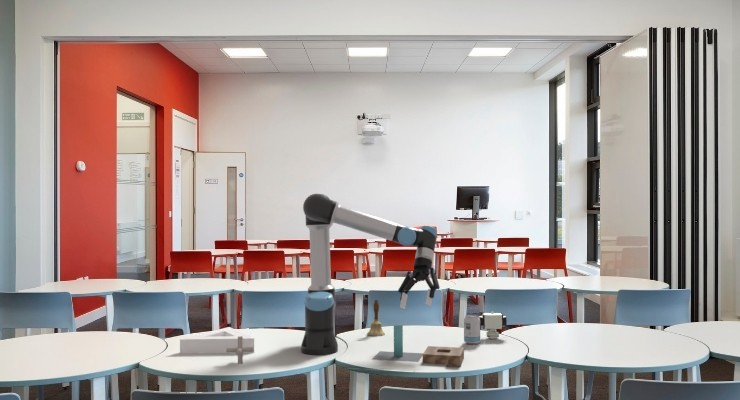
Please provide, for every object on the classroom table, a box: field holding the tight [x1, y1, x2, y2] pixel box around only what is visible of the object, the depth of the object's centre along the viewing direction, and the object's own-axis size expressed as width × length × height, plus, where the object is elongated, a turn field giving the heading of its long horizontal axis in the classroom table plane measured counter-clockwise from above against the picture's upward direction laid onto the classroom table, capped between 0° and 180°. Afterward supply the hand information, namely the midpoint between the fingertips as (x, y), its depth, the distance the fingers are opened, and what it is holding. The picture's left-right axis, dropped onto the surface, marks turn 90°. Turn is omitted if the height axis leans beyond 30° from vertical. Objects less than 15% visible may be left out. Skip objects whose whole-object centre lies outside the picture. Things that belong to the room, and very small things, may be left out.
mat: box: [371, 350, 424, 363], centre depth 248 cm, size 18×14×1 cm
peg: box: [393, 324, 404, 357], centre depth 248 cm, size 4×4×12 cm
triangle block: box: [179, 326, 255, 355], centre depth 271 cm, size 30×26×6 cm
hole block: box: [422, 345, 465, 368], centre depth 241 cm, size 14×14×4 cm
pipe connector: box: [227, 336, 255, 365], centre depth 241 cm, size 10×10×10 cm
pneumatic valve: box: [478, 311, 508, 340], centre depth 283 cm, size 6×12×12 cm, turn 87°
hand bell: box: [366, 299, 386, 337], centre depth 294 cm, size 8×8×16 cm
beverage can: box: [463, 314, 481, 346], centre depth 273 cm, size 7×7×12 cm
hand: (415, 306), depth 259 cm, fingers open, 13 cm apart
